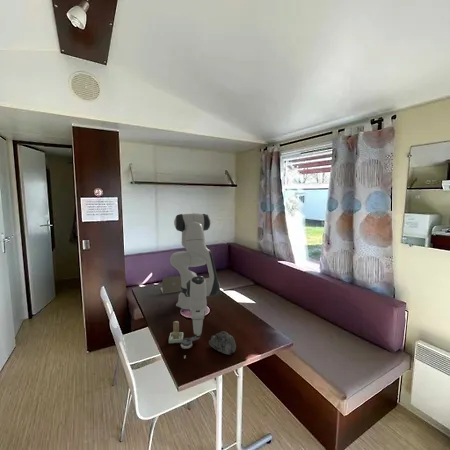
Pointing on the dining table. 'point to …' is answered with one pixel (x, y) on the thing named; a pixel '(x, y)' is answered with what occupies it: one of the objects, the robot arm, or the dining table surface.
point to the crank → (188, 340)
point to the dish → (176, 339)
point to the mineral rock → (223, 343)
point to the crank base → (186, 347)
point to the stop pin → (175, 330)
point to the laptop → (171, 284)
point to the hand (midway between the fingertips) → (198, 333)
